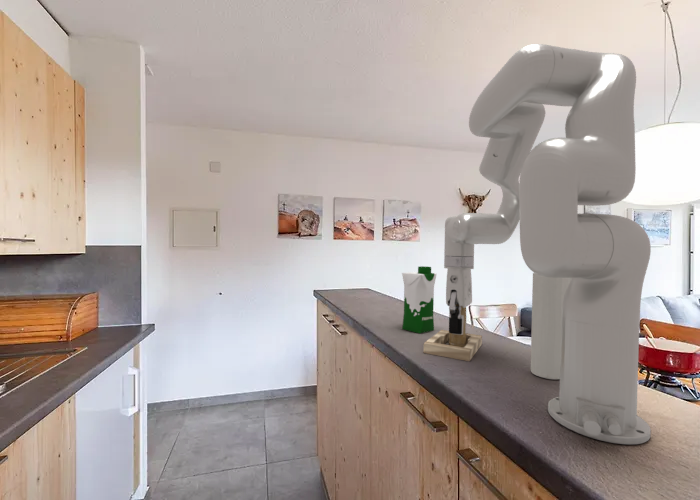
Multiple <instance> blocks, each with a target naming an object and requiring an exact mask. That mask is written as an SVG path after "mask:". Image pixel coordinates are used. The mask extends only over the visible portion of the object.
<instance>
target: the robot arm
mask: <svg viewBox="0 0 700 500" xmlns="http://www.w3.org/2000/svg"><path fill="white" fill-rule="evenodd" d="M636 86H637V71H636V68H635V65H634V62H633V61H632V60H631V59H630V57H628V56H626V55H624V54H620V53H614V52H613V53H612V52H597V51H595V52H594V51H589V50H587V51H586V50H582V49H581V50H580V49H575V48H574V49H573V48H568V47H561V46H555V45H549V44H544V43H534V44H533V43H532V44H528V45H526V46H523V47H522V48H520V49H519V50H517V51H516V52H515V53H514V54H513V55H512V56H511V57H510V58H509V59H508V60H507V62H506V63H505V64H504V65H503V66H502V67H501V68H500V70H498V72H497V73H496V74H495V76H494V77H492V79H491V80H490V81H489V82H488V83H487V85H486V86H485V87H484V88H483V90H482V91H481V93H480V94H479V95H478V97H477V98H476V100H475V102H474V104H473V106H472V108H471V110H470V114H469V117H468V119H469V120H468V127H469V130H470V132H471V133H472V135H474V136H475V137H481V138H489V140H488V142H487V146H486V149H485V151H484V154H483V156H482V160H481V162H480V164H479V168H478V171H479V174H480V175H482V177H483V178H484V179H486V180H487V181H490V182H491V183H493V184H495V185H497V186H499V187H500V189H501V190H502V191H501V192H502V199H501V203H500V206H499V207H498V211H497V212H496V213H485V212H484V213H483V212H482V213H481V212H477V213H476V212H475V213H474V212H466V213H465V212H464V213H460V214H458V215H457V216H450V217H447V218H446V220H445V222H444V249H443V250H444V253H443V255H444V257H443V258H444V259H443V261H444V262H443V263H444V264H443V268H444V269H447V271H446V272H447V273H446V283H445V285H446V287H445V303H446V305H447V306H448V311H449V313H448V314H449V315H448V317H449V318H448V331H449V333H453V334H462V319H461V308H462V307H463V308H465V307H466V308H467V307H469V306H470V305H471V304H472V303H473V287H472V286H473V282H472V270H474V269H475V257H474V256H475V245H501V244H503V243H505V242H507V241H508V240H509V239H510V238H511V237H512V236H513V234H514V232H515V230H516V229H517V226H518V225H519V242H520V244H519V245H520V251H521V255H522V259H523V261H524V263H525V265H526V266H527V268H528V269H529V270H530V271H531V272H532V273H536V274H538V275H541V276H544V277H552V278H572V279H571V281H570V283H569V285H568V287H567V289H566V292H565V294H564V298H563V302H562V316H561V355H560V379H559V396H556V397H553V398H551V399H550V400H548V403H547V411H548V414H549V415H550V416H551V418H552V419H553V420H555V421H556V422H557V423H558V424H560V425H561V426H563V427H564V428H567V429H568V430H571V431H572V432H575V433H577V434H580V435H582V436H584V437H588V438H591V439H594V440H598V441H602V442H606V443H611V444H619V445H641V444H644V443H646V442H648V441H649V440H650V439H651V433H652V432H651V431H652V429H651V426H650V425H649V423H648V422H647V421H645V419H643V418H642V417H640V416H639V415H638V385H639V384H638V383H639V381H638V380H639V348H640V347H639V346H640V345H639V344H640V324H641V304H642V303H641V300H642V291H643V287H644V286H643V285H644V281H645V277H646V274H647V270H648V266H649V262H650V259H651V252H652V251H651V245H652V244H651V241H650V237H649V235H648V233H647V231H646V230H645V229H644V228H643V226H641V225H640V224H639V223H637V222H636V221H634V220H633V219H630V218H628V217H624V216H621V215H617V214H606V213H588V212H587V213H586V212H585V213H578V210H579V209H578V208H579V207H578V206H586V207H588V206H590V207H591V206H595V207H596V206H599V207H600V206H610V205H613V204H617V203H620V202H621V201H624V199H626V198H627V197H628V196H629V195H630V193H631V192H632V191H633V188H634V186H635V182H636V165H637V164H636V139H635V138H636V135H635V134H636V130H635V129H636V128H635V127H636V126H635V112H634V110H635V109H634V108H635V107H634V105H635V93H636ZM546 105H547V106H556V107H557V106H558V107H571V108H570V110H569V112H568V115H567V117H566V120H565V124H564V130H565V131H564V133H565V137H554V138H549V139H545V140H543V141H541V142H539V143H538V144H537V145H535V146H534V144H535V141H536V140H537V138H538V135H539V133H540V131H541V128H542V126H543V123H544V122H545V117H546V108H545V106H546ZM533 146H534V147H533ZM532 148H533V149H532ZM456 304H459V306H456ZM457 309H458V311H457Z"/></svg>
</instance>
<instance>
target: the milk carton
mask: <svg viewBox="0 0 700 500" xmlns="http://www.w3.org/2000/svg"><path fill="white" fill-rule="evenodd" d="M401 275H402V280H403V286H404V287H403V288H404V289H403V290H404V291H403V293H404V294H403V295H404V296H403V316H402V317H403V318H402V327H401V329H402V330H404V331H408V332H413V333H416V334H424V333H428V332H432V331H435V326H434V325H435V323H434V321H435V320H434V305H435V303H434V295H435V294H434V293H435V292H434V291H435V284H436V278H437V273H435V272H434V273H433V272H432V267H431V266H423V265H422V266H421V265H420V266H417V271H410V272H409V271H408V272H401Z"/></svg>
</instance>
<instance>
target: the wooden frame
mask: <svg viewBox="0 0 700 500" xmlns="http://www.w3.org/2000/svg"><path fill="white" fill-rule="evenodd" d="M447 343H449V330H447V329H440V330H439V331H438V332H436V333H435V334H434V335H433V336H431V337H430V338H428V339H427V340H426V341H424V343H423V353H422V354H427V355H433V356H438V357H444V358H449V359H454V360H461V361H465V362H470V361H471V360H472V359H473V357H474V356H475V355H476V353H477V352H478V350H479V349H480V348H481V346H482V345H483V335H480V334H474V333H467V332H466V346H465V347H458V346H452V345H450V344H447Z"/></svg>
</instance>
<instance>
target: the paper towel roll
mask: <svg viewBox="0 0 700 500" xmlns="http://www.w3.org/2000/svg"><path fill="white" fill-rule="evenodd" d="M571 279H572V278H552V277H544V276H541V275H538V274H536V273H534V272H532V293H531V294H532V301H531V302H532V303H531V304H532V305H531V332H530V333H531V335H530V336H531V338H530V339H531V342H530V371H531V373H532V374H533V375H535V376H537V377H540V378H543V379H547V380H560V355H561V316H562V302H563V298H564V294H565V292H566V289H567V287H568V285H569V283H570V281H571Z"/></svg>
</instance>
